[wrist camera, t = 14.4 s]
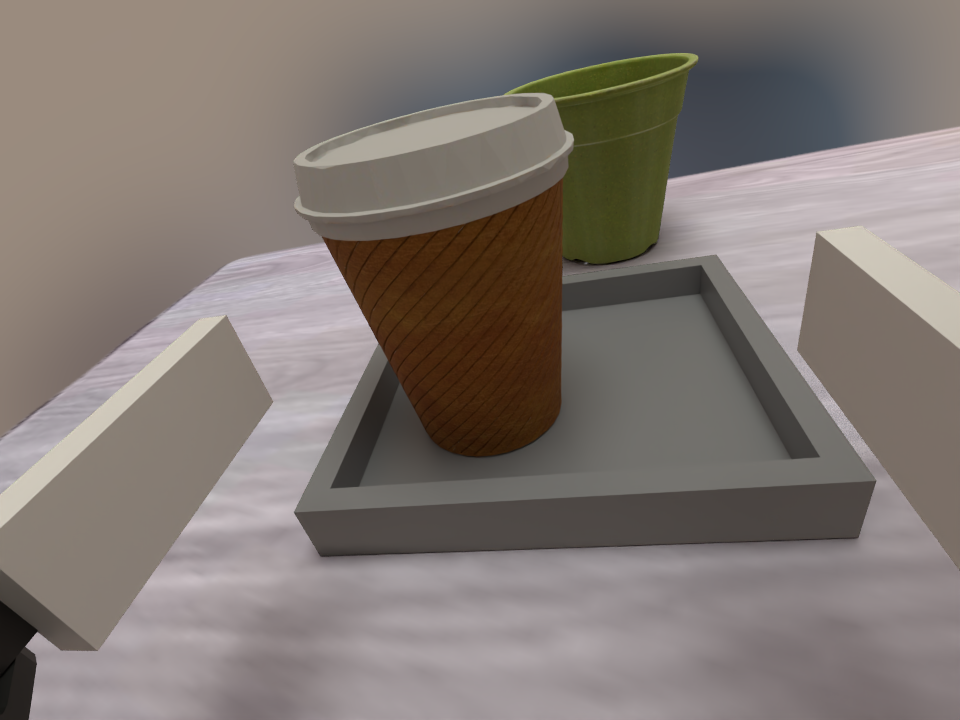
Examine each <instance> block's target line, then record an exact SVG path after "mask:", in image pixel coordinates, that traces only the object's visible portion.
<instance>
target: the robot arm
mask: <svg viewBox="0 0 960 720" xmlns="http://www.w3.org/2000/svg"><path fill="white" fill-rule="evenodd" d="M797 350H798V352H799V353H800V355H801V356H802V357H803V359H804V360H805V361H806V363H807V364H808V365H809V367H810V368H811V369H812V371H813V372H814V374H815V375H816V376H817V378H818V379H819V380H820V382H821V383H822V384H823V386H824V387H825V388H826V390H827V391H828V393H829V394H830V395H831V397H832V398H833V399H834V401H835V402H836V403H837V405H838V406H839V407H840V409H841V410H842V411H843V413H844V414H845V416H846V417H847V418H848V420H849V421H850V422H851V424H852V425H853V426H854V428H855V429H856V430H857V432H858V433H859V435H860V436H861V437H862V439H863V440H864V441H865V443H866V444H867V445H868V447H869V448H870V449H871V451H872V452H873V454H874V455H875V456H876V458H877V459H878V460H879V462H880V463H881V464H882V466H883V467H884V468H885V470H886V471H887V472H888V474H889V475H890V477H891V478H892V479H893V481H894V482H895V483H896V485H897V486H898V487H899V489H900V490H901V491H902V493H903V494H904V496H905V497H906V498H907V500H908V501H909V502H910V504H911V505H912V506H913V508H914V509H915V510H916V512H917V513H918V515H919V516H920V517H921V519H922V520H923V521H924V523H925V524H926V525H927V527H928V528H929V529H930V531H931V532H932V534H933V535H934V536H935V538H936V539H937V540H938V542H939V543H940V544H941V546H942V547H943V548H944V550H945V551H946V552H947V554H948V555H949V557H950V558H951V559H952V561H953V562H954V563H955V565H956V566H957V567H958V569H959V570H960V293H959V292H958V291H956V290H955V289H953V288H952V287H950V286H949V285H947V284H946V283H945V282H943V281H942V280H940V279H939V278H937V277H936V276H934V275H933V274H931V273H930V272H928V271H927V270H925V269H924V268H923V267H921V266H920V265H918V264H917V263H915V262H914V261H912V260H911V259H909V258H908V257H906V256H905V255H903V254H902V253H901V252H899V251H898V250H896V249H895V248H893V247H892V246H890V245H889V244H887V243H886V242H884V241H883V240H881V239H880V238H879V237H877V236H876V235H874V234H873V233H871V232H870V231H868V230H867V229H865V228H864V227H862V226H856V227H849V228H842V229H834V230H827V231H820V232H817V233H816V239H815V245H814V251H813V257H812V264H811V270H810V276H809V282H808V288H807V294H806V300H805V306H804V312H803V318H802V324H801V330H800V336H799V342H798V348H797ZM272 403H273V400H272V398H271V397H270V395H269V393H268V391H267V389H266V387H265V386H264V384H263V382H262V380H261V378H260V376H259V374H258V373H257V371H256V369H255V367H254V365H253V363H252V362H251V360H250V358H249V356H248V354H247V352H246V350H245V349H244V347H243V345H242V343H241V341H240V339H239V338H238V336H237V334H236V332H235V330H234V328H233V327H232V325H231V323H230V321H229V319H228V317H227V315H225V316H218V317H211V318H203V319H199V320H198V321H197V322H196V323H195V324H193V325H192V326H191V327H190V328H189V329H188V330H187V331H186V332H184V333H183V334H182V335H181V336H180V337H179V338H178V339H176V340H175V341H174V342H173V343H172V344H171V345H170V346H168V347H167V348H166V349H165V350H164V351H163V352H162V353H161V354H159V355H158V356H157V357H156V358H155V359H154V360H153V361H151V362H150V363H149V364H148V365H147V366H146V367H145V368H144V369H142V370H141V371H140V372H139V373H138V374H137V375H136V376H134V377H133V378H132V379H131V380H130V381H129V382H128V383H126V384H125V385H124V386H123V387H122V388H121V389H120V390H119V391H117V392H116V393H115V394H114V395H113V396H112V397H111V398H109V399H108V400H107V401H106V402H105V403H104V404H103V405H102V406H100V407H99V408H98V409H97V410H96V411H95V412H94V413H92V414H91V415H90V416H89V417H88V418H87V419H86V420H85V421H83V422H82V423H81V424H80V425H79V426H78V427H77V428H75V429H74V430H73V431H72V432H71V433H70V434H69V435H67V436H66V437H65V438H64V439H63V440H62V441H61V442H60V443H58V444H57V445H56V446H55V447H54V448H53V449H52V450H50V451H49V452H48V453H47V454H46V455H45V456H44V457H43V458H41V459H40V460H39V461H38V462H37V463H36V464H35V465H33V466H32V467H31V468H30V469H29V470H28V471H27V472H25V473H24V474H23V475H22V476H21V477H20V478H19V479H18V480H16V481H15V482H14V483H13V484H12V485H11V486H10V487H8V488H7V489H6V490H5V491H4V492H3V493H2V494H1V495H0V720H29V714H30V707H31V700H32V693H33V686H34V679H35V672H36V665H37V663H36V657H35V654H34V653H32V652H31V651H30V650H28V649H27V648H26V647H25V646H26V645H27V643H28V642H29V641H30V640H31V639H32V637H33V636H34V635H35V634H36V633H37V632H39V633H40V634H41V635H42V636H44V637H45V638H46V639H47V640H49V641H50V642H51V643H53V644H54V645H55V646H56V647H58V648H59V649H60V650H67V651H98V650H99V649H100V647H101V646H102V644H103V643H104V642H105V640H106V639H107V637H108V636H109V635H110V633H111V632H112V630H113V629H114V627H115V626H116V625H117V623H118V622H119V620H120V619H121V617H122V616H123V615H124V613H125V612H126V610H127V609H128V608H129V606H130V605H131V603H132V602H133V600H134V599H135V598H136V596H137V595H138V593H139V592H140V591H141V589H142V588H143V586H144V585H145V583H146V582H147V581H148V579H149V578H150V576H151V575H152V573H153V572H154V571H155V569H156V568H157V566H158V565H159V564H160V562H161V561H162V559H163V558H164V556H165V555H166V554H167V552H168V551H169V549H170V548H171V547H172V545H173V544H174V542H175V541H176V539H177V538H178V537H179V535H180V534H181V532H182V531H183V529H184V528H185V527H186V525H187V524H188V522H189V521H190V520H191V518H192V517H193V515H194V514H195V512H196V511H197V510H198V508H199V507H200V505H201V504H202V503H203V501H204V500H205V498H206V497H207V495H208V494H209V493H210V491H211V490H212V488H213V487H214V485H215V484H216V483H217V481H218V480H219V478H220V477H221V476H222V474H223V473H224V471H225V470H226V468H227V467H228V466H229V464H230V463H231V461H232V460H233V458H234V457H235V456H236V454H237V453H238V451H239V450H240V449H241V447H242V446H243V444H244V443H245V441H246V440H247V439H248V437H249V436H250V434H251V433H252V432H253V430H254V429H255V427H256V426H257V424H258V423H259V422H260V420H261V419H262V417H263V416H264V414H265V413H266V412H267V410H268V409H269V407H270V406H271V405H272Z"/></svg>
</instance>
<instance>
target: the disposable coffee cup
mask: <svg viewBox="0 0 960 720" xmlns="http://www.w3.org/2000/svg"><path fill="white" fill-rule="evenodd" d="M573 145H574V138H573V134H572V133H570V132H568V131H566V130H564V128H563V125H562V122H561V118H560V115H559V112H558V109H557V106H556V103H555V100H554V98H553V97H552V95H549V94H545V93H521V94H510V95H503V96H495V97H489V98H483V99H478V100H472V101H466V102H461V103H456V104H451V105H447V106H442V107H437V108H433V109H428V110H424V111H421V112H417V113H413V114H409V115H406V116H401V117H398V118H394V119H390V120H386V121H383V122H380V123H377V124H374V125H371V126H367V127H364V128H361V129H358V130H354V131H351V132H349V133H346V134H343V135H340V136H337V137H334V138H331V139H329V140H327V141H325V142H322V143H320V144H318V145H315V146H313V147H311V148H309V149H308V150H306V151H304V152H303V153H301V154H299V155H298V156H297V157H296V159H295V160H294V161H293V163H294V169H295V174H296V179H297V185H298V190H299V197H298V198H297V199H296V200H295V205H294V208H295V210H296V212H297V214H299V215H300V216H301V217H302V218H304V219H305V220H308V221H309V223H310V225H311V228H312V230H313V231H315V232H316V233H317V234H318V235H320V236H322V238H323V239H324V242H325V243H326V245H327V247H328V249H329V251H330V253H331V255H332V257H333V258H334V260H335V262H336V264H337V266H338V268H339V270H340V272H341V274H342V275H343V277H344V279H345V281H346V283H347V285H348V286H349V288H350V290H351V292H352V294H353V296H354V298H355V299H356V301H357V303H358V305H359V307H360V309H361V311H362V313H363V315H364V316H365V318H366V320H367V322H368V324H369V326H370V327H371V329H372V331H373V333H374V335H375V337H376V339H377V341H378V343H379V345H380V346H381V348H382V350H383V352H384V354H385V355H386V357H387V359H388V361H389V363H390V365H391V367H392V369H393V371H394V372H395V374H396V376H397V378H398V380H399V382H400V384H401V386H402V387H403V389H404V391H405V393H406V395H407V397H408V398H409V400H410V402H411V404H412V406H413V408H414V410H415V411H416V413H417V415H418V417H419V419H420V421H421V423H422V425H423V427H424V428H425V430H426V432H427V434H428V435H429V437H430V438H431V439H432V440H433V442H434V443H436V444H437V445H438V446H439V447H441V448H443V449H445V450H447V451H449V452H452V453H456V454H461V455H465V456H477V457H479V456H492V455H497V454H502V453H506V452H510V451H513V450H515V449H518V448H521V447H523V446H525V445H527V444H529V443H530V442H532V441H534V440H536V439H537V438H538V437H539V436H541V435H542V434H543V433H544V432H546V431H547V430H548V429H549V428H550V427H551V425H552V424H553V423H554V422H555V420H556V418H557V417H558V415H559V412H560V408H561V403H562V399H561V368H562V359H561V357H562V268H563V267H562V253H563V248H562V238H563V229H562V223H563V209H562V207H563V177H564V175H565V173H566V171H567V169H568V155H569V154H570V153H571V152H572V151H573Z"/></svg>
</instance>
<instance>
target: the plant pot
mask: <svg viewBox="0 0 960 720" xmlns="http://www.w3.org/2000/svg"><path fill="white" fill-rule="evenodd" d="M697 62H698V56H697V55H694V54H687V53H677V54H676V53H674V54H662V55H653V56H645V57H637V58H631V59H625V60H620V61H614V62H609V63H603V64H599V65H594V66H590V67H585V68H581V69H577V70H572V71H568V72H564V73H561V74H557V75H554V76H550V77H546V78H543V79H540V80H537V81H534V82H531V83H528V84H525V85H523V86H520V87H518V88H515V89H513V90H511V91H509V92H508V93H506V94H504V95H510V94H521V93H545V94H549V95H552V97H553V98H554V100H555V103H556V106H557V109H558V112H559V115H560V118H561V122H562V125H563V128H564V130H566V131H568V132H570V133H572V134H573V138H574V145H573V151H572V152H571V153H570V154H569V155H568V169H567V171H566V173H565V175H564V177H563V207H562V209H563V223H562V229H563V238H562V248H563V253H562V256H563V257H565V258H567V259H569V260H574V259H580V260H583V261H585V262H588V263H593V264H606V263H611V262H616V261H620V260H627V259H630V258H633V257H635V256H637V255H640V254H642V253H644V252H645V251H646V249H647V248H648V247H649V246H650V245H651V244H654V243H656V242H657V240H658V236H659V231H660V224H661V218H662V212H663V205H664V199H665V192H666V186H667V179H668V173H669V166H670V159H671V153H672V146H673V140H674V135H675V129H676V123H677V117H678V114H679V113H680V111H681V109H682V104H683V98H684V93H685V87H686V83H687V77H688V73H689V70H690V69H691V68H692V67H694V66H695V65H696V63H697Z"/></svg>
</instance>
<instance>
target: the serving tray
mask: <svg viewBox="0 0 960 720" xmlns="http://www.w3.org/2000/svg"><path fill="white" fill-rule="evenodd" d="M561 359H562V368H561V399H562V403H561V408H560V412H559V415H558V417H557V418H556V420H555V422H554V423H553V424H552V425H551V427H550V428H549V429H548V430H547V431H546V432H544V433H543V434H542V435H541V436H539V437H538V438H537V439H536V440H534V441H532V442H530V443H529V444H527V445H525V446H523V447H521V448H518V449H515V450H513V451H510V452H506V453H502V454H497V455H492V456H479V457H477V456H465V455H461V454H456V453H452V452H449V451H447V450H445V449H443V448H441V447H439V446H438V445H437V444H436V443H434V442H433V440H432V439H431V438H430V437H429V435H428V434H427V432H426V430H425V428H424V427H423V425H422V423H421V421H420V419H419V417H418V415H417V413H416V411H415V410H414V408H413V406H412V404H411V402H410V400H409V398H408V397H407V395H406V393H405V391H404V389H403V387H402V386H401V384H400V382H399V380H398V378H397V376H396V374H395V372H394V371H393V369H392V367H391V365H390V363H389V361H388V359H387V357H386V355H385V354H384V352H383V350H382V348H381V346H380V345H379V344H378V346H377V348H376V350H375V352H374V354H373V356H372V358H371V360H370V362H369V364H368V366H367V368H366V369H365V371H364V373H363V375H362V377H361V379H360V381H359V383H358V385H357V387H356V389H355V391H354V393H353V395H352V397H351V399H350V401H349V403H348V405H347V407H346V409H345V411H344V413H343V415H342V417H341V419H340V421H339V423H338V425H337V427H336V429H335V431H334V433H333V435H332V437H331V439H330V441H329V443H328V445H327V447H326V449H325V451H324V453H323V455H322V457H321V459H320V461H319V463H318V465H317V467H316V469H315V471H314V473H313V475H312V477H311V479H310V481H309V483H308V485H307V487H306V489H305V491H304V493H303V495H302V497H301V499H300V501H299V503H298V505H297V507H296V509H295V511H294V513H295V515H296V517H297V518H298V520H299V522H300V523H301V525H302V527H303V528H304V530H305V532H306V533H307V535H308V536H309V538H310V540H311V541H312V543H313V545H314V546H315V548H316V550H317V551H318V553H319V554H320V556H337V555H365V554H394V553H423V552H452V551H481V550H510V549H538V548H567V547H596V546H625V545H654V544H683V543H711V542H740V541H769V540H798V539H827V538H856V537H859V534H860V531H861V528H862V524H863V521H864V518H865V515H866V512H867V509H868V506H869V502H870V499H871V496H872V493H873V490H874V487H875V484H876V480H875V478H874V477H873V475H872V474H871V472H870V471H869V470H868V468H867V467H866V465H865V464H864V463H863V461H862V460H861V458H860V457H859V456H858V454H857V453H856V451H855V450H854V448H853V447H852V446H851V444H850V443H849V441H848V440H847V439H846V437H845V436H844V434H843V433H842V432H841V430H840V429H839V427H838V426H837V424H836V423H835V422H834V420H833V419H832V417H831V416H830V415H829V413H828V412H827V410H826V409H825V408H824V406H823V405H822V403H821V402H820V400H819V399H818V398H817V396H816V395H815V393H814V392H813V391H812V389H811V388H810V386H809V385H808V383H807V382H806V381H805V379H804V378H803V376H802V375H801V374H800V372H799V371H798V369H797V368H796V367H795V365H794V364H793V362H792V361H791V359H790V358H789V357H788V355H787V354H786V352H785V351H784V350H783V348H782V347H781V345H780V344H779V343H778V341H777V340H776V338H775V337H774V335H773V334H772V333H771V331H770V330H769V328H768V327H767V326H766V324H765V323H764V321H763V320H762V319H761V317H760V316H759V314H758V313H757V311H756V310H755V309H754V307H753V306H752V304H751V303H750V302H749V300H748V299H747V297H746V296H745V294H744V293H743V292H742V290H741V289H740V287H739V286H738V285H737V283H736V282H735V280H734V279H733V278H732V276H731V275H730V273H729V272H728V270H727V269H726V268H725V266H724V265H723V263H722V262H721V261H720V259H719V258H718V256H717V255H710V256H703V257H696V258H689V259H682V260H675V261H667V262H660V263H653V264H646V265H639V266H632V267H625V268H618V269H611V270H604V271H597V272H590V273H583V274H576V275H568V276H562V357H561Z"/></svg>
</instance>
